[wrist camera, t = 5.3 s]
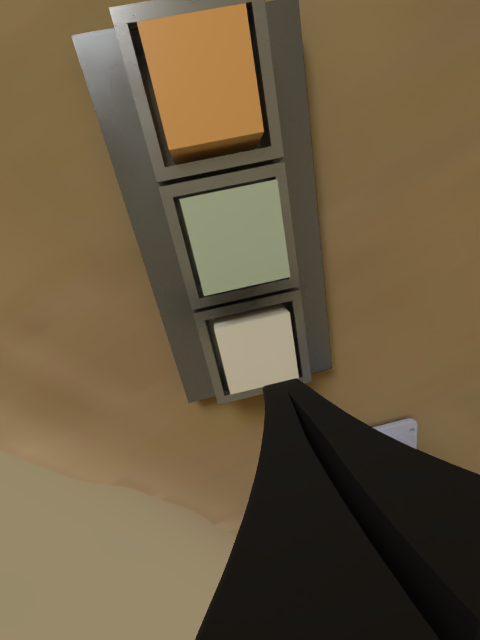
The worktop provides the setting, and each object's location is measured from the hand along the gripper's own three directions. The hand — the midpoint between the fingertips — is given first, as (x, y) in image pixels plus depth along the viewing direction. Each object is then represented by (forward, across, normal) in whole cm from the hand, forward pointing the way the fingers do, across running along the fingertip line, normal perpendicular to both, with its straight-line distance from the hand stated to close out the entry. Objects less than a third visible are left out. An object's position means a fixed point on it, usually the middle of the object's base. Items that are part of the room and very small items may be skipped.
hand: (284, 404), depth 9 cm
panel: (+8, 0, -6) cm, 10 cm away
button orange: (+6, 0, -12) cm, 14 cm away
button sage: (+5, 0, -6) cm, 8 cm away
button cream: (+6, 0, 0) cm, 6 cm away
